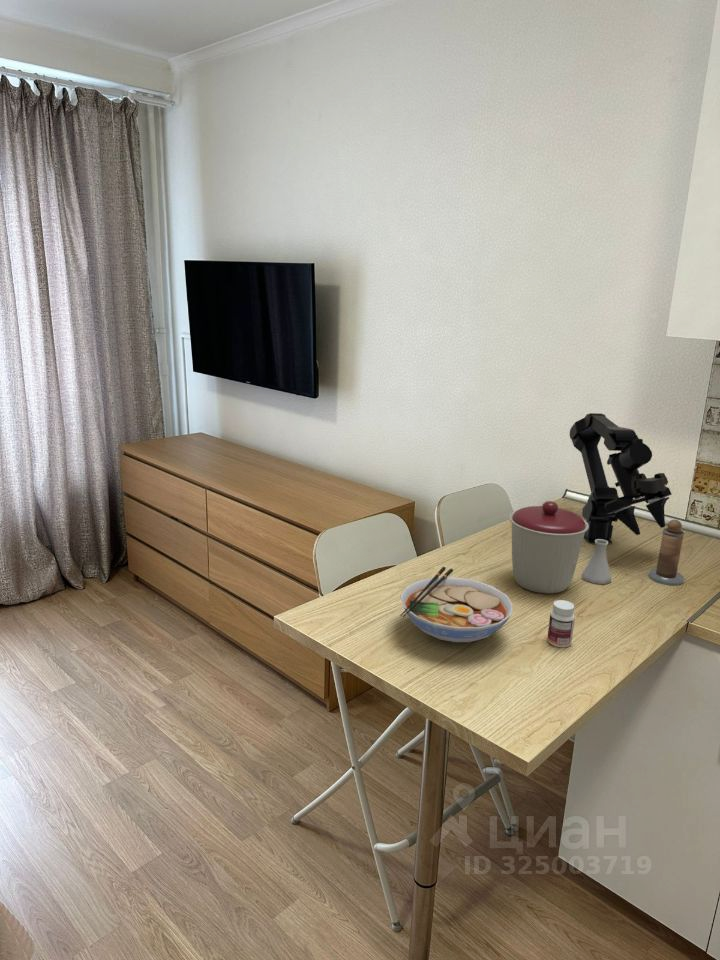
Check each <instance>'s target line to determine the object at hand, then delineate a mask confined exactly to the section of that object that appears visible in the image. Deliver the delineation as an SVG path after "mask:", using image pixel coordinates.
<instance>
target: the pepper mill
mask: <svg viewBox="0 0 720 960" xmlns="http://www.w3.org/2000/svg"><path fill="white" fill-rule="evenodd" d="M682 528H683V525H682V523H681V521H680V520H678V519H671V520H669V521H668V523H667V527H666V528H665V527H664V528H663V529H662V536H661V543H660V548H659V553H658V554H659V555H658V558H657V566H656V568H657V570H656V574H657V575H659V576H661V577H664V578H675V577H676V574H677V572H678V568H679V561H680V557H681V551H682V546H683V545H682V544H683V540H684V536H685V531H683V530H682Z"/></svg>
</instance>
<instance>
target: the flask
mask: <svg viewBox="0 0 720 960" xmlns="http://www.w3.org/2000/svg"><path fill="white" fill-rule="evenodd" d="M594 544H595V546H594V551H593V552H592V554H591V557H590V558H589V561H588V562H587V564H586V566H585V568H584V569H583V570H582V573H581V579H583V580H585V581H587V582H588V583H592V584H599V585H607V584H610V583H612V576H611V572H610V567H609V564H608V563H609V562H608V558H607V546H608V544H609V543H608V541H606V540H602V539H596V540H595V543H594Z"/></svg>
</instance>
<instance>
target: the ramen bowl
mask: <svg viewBox="0 0 720 960" xmlns="http://www.w3.org/2000/svg"><path fill="white" fill-rule="evenodd" d="M446 569H447V568H446V567H445V566H442V567H441V568H440V570H438V572H437V573H436V574H435V575H434V576H433V577H429V578H424V579H420V580H416V581H414V582H413V583H411V584H409V585H407V586H405V587H404V588H403V591H402V592H401V594H400V600H401V603H402V606H403V610H404V611H403V612H402V613H401V614H400V617H403V618H404V617H405V616H408V618H409V619H410V621H411V622H412V623H413V624H414V625H415V626H416V627H417V628H419V629H420V630H421V631H422V632H424V633H425V634H427V635H429V636H432V637H434V638H436V639H438V640H441V641H446V642H453V643H472V642H475V641H479V640H483V639H487V638H489V637H490V636H492V635H493V634H494V633H495V632H497V631H498V630H499V629H501V628H502V627H503V626H504V625H505V624H506V623H507V622H508V620H509V619H510V618H511V616H512V612H513V608H514V604H513V603H512V601H511V599H510V598H509V596H508V595H507V594H506V593H504V592H502V591H501V590H499V589H498V588H497V587H494V586H492V585H489V584H486V583H483V582H481V581H479V580H475V579H470V578H462V577H457V576H450V575H451V574H452V573H453V572H454V568H449V569H448V570H447V572H446V573H444V572H445V571H446ZM443 573H444V574H443ZM442 574H443V575H442ZM441 575H442V576H441ZM404 613H405V614H404ZM403 614H404V615H403Z"/></svg>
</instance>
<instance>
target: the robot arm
mask: <svg viewBox="0 0 720 960" xmlns="http://www.w3.org/2000/svg"><path fill="white" fill-rule="evenodd" d="M569 438H570V440H571V443H572V445H573V447H574V448H575V449H576V450H577V451H578V452H580V453H581V454H580V455H581V457H582V462H583V465H584V466H583V467H584V469H585V472H586V473H585V474H586V477H587V481H588V485H589V489H590V494H589V497H588V499H587V503H585V505H584V506H583V508H582V509H581V510H582V514H581V515H582V517H583V518H584V520H585V521H586V522H587V523H588V525H589V528H588V530H587V531H586V532H585V533H584V539H585V540H586V541H587V542H588V543H590V544H592V543H593V544H595V540H596V539H602V540H606V541H608V544H612V542H613V541H612V537H613V530H614V525H613V522H614V523H617V522H618V521H620V522H621V523H622V524H624V525H625V527H627V528H628V529H629V530H631V532H632V533H633V534H635V536H638V535H639V536H640V535H641V530H640V527H639V524H638V521H637V519H636V516H635V509H636V506H635V504H636V505H637V504H640V503H644V502H645V503H646V504H645V507H646V509H647V510H648V512H649V513H650V515H651V516H652V518H653V519H654V520H655V522H656V523H657V525H658V526H659V528H661V529H662V528H663V529H664V528H665V527H666V522H665V520H666V519H665V517H666V516H665V505H666V503H667V501H668V500H670V496H672V492H671V489H670V487H668V486H667V485H668V484H669V480H668V478H667V476H666V474H665V472H657V473H655V474H654V476H652V477H647V476H646V474H645V473H640V471H639V469H640V468H641V467H643V466H644V465H646V464H648V463H650V462H651V460H652V457H653V452H652V450H651V448H650V447H649V445H648V444H645V443H644V440H643V438H640V437H639V436H638V434H637V433H636V431H635V430H634V429H631V428H628V427H621V426H619V425H617V424H616V423H614V422H613V421H611V419H609V418H607V416H606V414H603V413H599V412H598V413H595V412H594V413H592V412H589V413H587V414H585V416H584V417H583V418H580V419H579V420H576V421H575V422H574V423H573V425H572V426H571V427H570V429H569ZM602 438H603V439H604V440H603V444H604V446H605V448H606V449H607V450H608V451H609V452H611V451H614V452H615V451H617V452H615V453H614V452H613V453H610V454H609V455H608V459H607V462H606V464H607V465H608V466H609V465H610V466H611V468H612V471H613V473H614V476H615V479H616V480H617V482H615V483H614V485H615V487H610V486H609V484H608V481H607V478H606V477H607V476H606V474H605V470H604V466H603V463H602V458H601V456H600V450H599V447H598V446H599V443H600V442H601V439H602ZM617 487H619V488H620V490H621V492H622V495H623V496H619V494H618V493H619V492H618V490H617Z"/></svg>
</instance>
